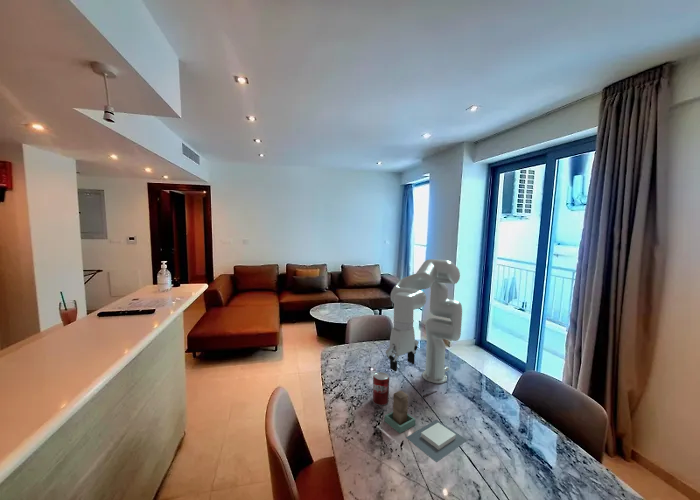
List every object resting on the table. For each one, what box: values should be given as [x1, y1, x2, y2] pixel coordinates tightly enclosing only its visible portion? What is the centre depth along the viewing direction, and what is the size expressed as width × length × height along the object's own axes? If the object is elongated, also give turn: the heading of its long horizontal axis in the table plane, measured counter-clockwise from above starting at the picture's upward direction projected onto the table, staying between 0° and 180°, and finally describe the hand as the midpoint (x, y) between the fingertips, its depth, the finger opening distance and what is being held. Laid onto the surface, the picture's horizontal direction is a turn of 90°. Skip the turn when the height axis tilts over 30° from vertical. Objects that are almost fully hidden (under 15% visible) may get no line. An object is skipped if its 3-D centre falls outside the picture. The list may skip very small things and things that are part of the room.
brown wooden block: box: [392, 390, 409, 425], centre depth 117 cm, size 4×4×12 cm
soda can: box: [372, 372, 390, 407], centre depth 132 cm, size 7×7×12 cm
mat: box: [405, 419, 468, 463], centre depth 109 cm, size 18×14×1 cm
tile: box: [421, 423, 456, 450], centre depth 109 cm, size 2×8×10 cm
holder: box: [384, 411, 416, 434], centre depth 117 cm, size 9×9×3 cm
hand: (402, 366), depth 116 cm, fingers open, 9 cm apart
